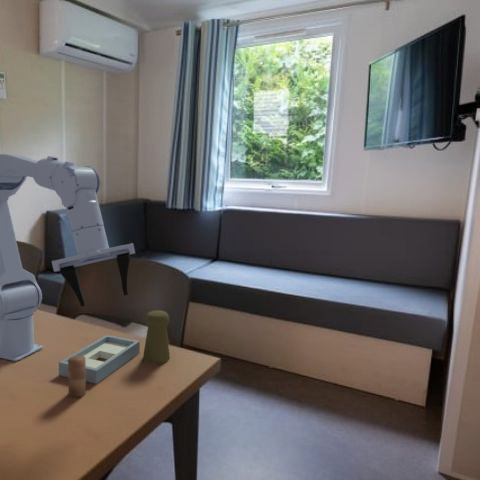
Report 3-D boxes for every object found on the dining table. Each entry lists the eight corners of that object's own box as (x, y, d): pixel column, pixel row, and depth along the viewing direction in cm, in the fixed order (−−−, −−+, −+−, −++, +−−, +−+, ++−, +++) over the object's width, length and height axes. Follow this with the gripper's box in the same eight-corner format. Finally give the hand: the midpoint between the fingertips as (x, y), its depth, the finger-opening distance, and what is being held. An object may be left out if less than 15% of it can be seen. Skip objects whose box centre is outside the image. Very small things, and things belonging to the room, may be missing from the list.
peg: (64, 396, 78) (64, 360, 76) (75, 388, 80) (75, 354, 79) (78, 399, 77) (78, 363, 76) (89, 391, 80) (88, 357, 78)
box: (59, 375, 85) (58, 362, 85) (106, 345, 100) (106, 334, 100) (96, 383, 82) (96, 370, 82) (139, 352, 98) (139, 341, 97)
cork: (164, 365, 92) (165, 318, 90) (138, 362, 93) (139, 314, 91) (173, 354, 98) (175, 309, 96) (149, 351, 99) (150, 306, 97)
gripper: (42, 235, 72) (60, 312, 72) (127, 218, 76) (145, 291, 76) (49, 239, 79) (65, 309, 78) (127, 223, 83) (143, 289, 83)
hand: (105, 300), depth 78 cm, fingers open, 7 cm apart
